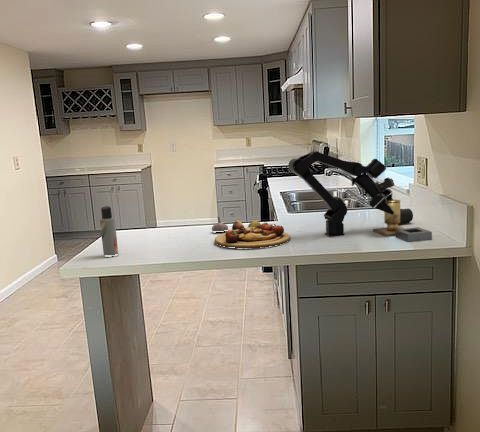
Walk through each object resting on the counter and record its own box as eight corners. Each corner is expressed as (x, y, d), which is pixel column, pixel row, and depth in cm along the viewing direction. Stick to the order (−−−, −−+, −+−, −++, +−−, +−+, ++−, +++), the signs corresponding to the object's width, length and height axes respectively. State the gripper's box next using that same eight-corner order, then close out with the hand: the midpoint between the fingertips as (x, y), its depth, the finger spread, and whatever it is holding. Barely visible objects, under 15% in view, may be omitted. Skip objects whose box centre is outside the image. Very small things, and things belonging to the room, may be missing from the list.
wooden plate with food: (240, 255, 186) (239, 233, 185) (201, 241, 213) (200, 222, 212) (305, 242, 203) (305, 222, 202) (262, 231, 230) (261, 213, 228)
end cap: (394, 226, 218) (394, 211, 217) (385, 224, 225) (384, 209, 224) (413, 224, 221) (413, 209, 220) (403, 221, 228) (403, 207, 226)
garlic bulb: (210, 234, 227) (209, 217, 226) (214, 231, 234) (213, 214, 233) (226, 234, 225) (224, 217, 224) (230, 231, 232) (229, 214, 231)
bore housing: (408, 242, 188) (407, 234, 188) (395, 236, 198) (395, 229, 198) (431, 239, 190) (431, 231, 190) (418, 234, 200) (418, 227, 199)
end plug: (388, 232, 202) (388, 202, 200) (381, 229, 209) (381, 200, 207) (403, 230, 203) (403, 200, 202) (395, 228, 210) (395, 199, 208)
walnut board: (386, 236, 199) (385, 234, 199) (372, 231, 211) (372, 228, 211) (413, 233, 202) (413, 231, 201) (398, 228, 213) (398, 226, 213)
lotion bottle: (119, 253, 200) (114, 205, 197) (116, 257, 195) (111, 207, 191) (105, 254, 200) (100, 206, 197) (102, 258, 195) (96, 208, 191)
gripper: (377, 174, 196) (405, 202, 192) (386, 169, 212) (413, 195, 209) (357, 193, 201) (385, 221, 198) (368, 188, 217) (394, 213, 214)
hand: (395, 212), depth 204 cm, fingers open, 9 cm apart
